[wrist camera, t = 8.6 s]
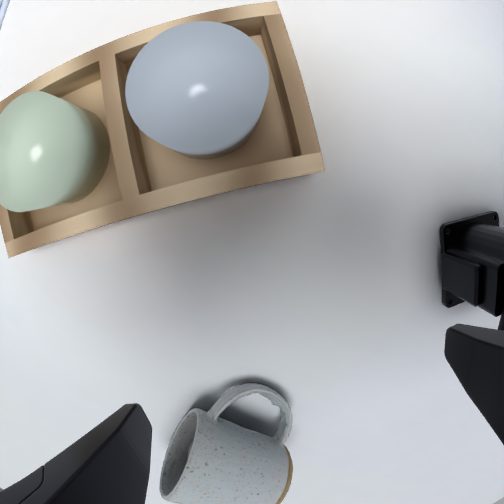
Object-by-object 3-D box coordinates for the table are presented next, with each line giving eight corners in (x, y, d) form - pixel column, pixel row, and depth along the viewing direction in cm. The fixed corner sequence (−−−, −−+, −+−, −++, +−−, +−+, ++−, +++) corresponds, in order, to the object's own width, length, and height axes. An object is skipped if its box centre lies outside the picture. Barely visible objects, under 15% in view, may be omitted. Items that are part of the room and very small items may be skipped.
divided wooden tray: (271, 24, 16) (276, 1, 13) (311, 173, 18) (324, 170, 15) (11, 116, 16) (-13, 111, 13) (33, 248, 18) (8, 258, 15)
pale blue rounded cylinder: (247, 50, 16) (250, 9, 11) (272, 145, 17) (284, 130, 12) (146, 76, 16) (118, 44, 11) (165, 171, 17) (138, 166, 12)
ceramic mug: (249, 471, 23) (253, 536, 16) (165, 444, 22) (150, 511, 15) (313, 396, 22) (340, 467, 14) (216, 358, 21) (209, 434, 13)
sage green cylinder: (102, 93, 16) (63, 71, 11) (118, 188, 17) (77, 191, 12) (28, 128, 16) (-18, 121, 11) (41, 215, 17) (-6, 225, 12)
